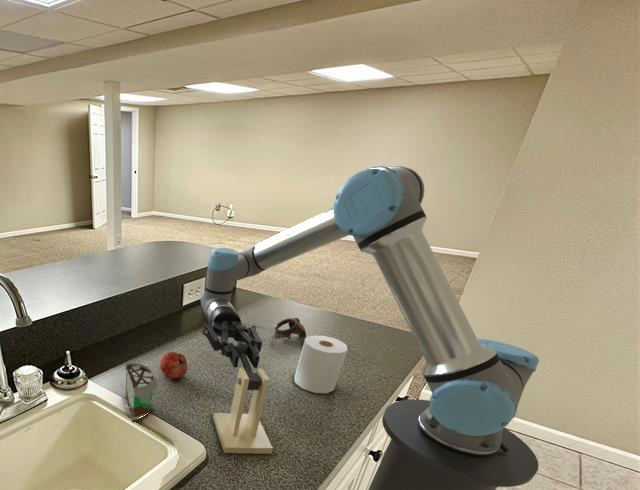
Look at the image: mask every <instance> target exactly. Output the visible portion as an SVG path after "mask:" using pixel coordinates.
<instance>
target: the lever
mask: <svg viewBox="0 0 640 490" xmlns="http://www.w3.org/2000/svg"><path fill="white" fill-rule="evenodd" d="M233 345H234V347H235V349H236V351H237V353H238V355H239V360H240V361H241V364H242V368H244V370H245V372H246V374H247V375H248V377H249V384H248V388H247V391H253V390H258V389H259V385H260V382H261V381H260V378H259V376H258V373H257V372H253V370H252V367H251V365H250V364H251V363H250V361H249V358H248V357H247V354H248V351H249V348H248V345H247V344H246V343H244V342H238V341H237V342H235V343H233Z"/></svg>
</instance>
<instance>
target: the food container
mask: <svg viewBox="0 0 640 490" xmlns="http://www.w3.org/2000/svg"><path fill="white" fill-rule="evenodd" d="M157 385H158V381H157V376H156V374H155V372H154V370H153V369H152V368H151V367H149V366H147V365H145V364H142V363H140V362H139V363H138V362H132V361H131V362H130V361H127V362H126V363H125V402H126V405H127V409H128V413H129V415H130V420H131V423H137V422H141V421H143V420H145V419H146V418H147V417H148V416H149V415H150V412H151V405H152V399H153V395H154V391H155V389H156V388H157ZM129 407H130V408H129ZM147 413H148V414H147ZM145 414H146V415H145ZM144 415H145V416H144ZM141 416H143V417H141ZM139 417H141V418H139ZM137 418H138V419H137Z"/></svg>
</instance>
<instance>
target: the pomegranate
mask: <svg viewBox="0 0 640 490" xmlns="http://www.w3.org/2000/svg"><path fill="white" fill-rule="evenodd" d="M159 367H160V370H161V372H162V373H163V376H164V377H166V378H167V379H171V380H175V379H178V378H183V377H184V376H185V375H186V374H187V373H188V368H189V366H188V363H187V358H186V357H185V355H184V354H183V353H178V352H176V351H169V352H166V353H164V355H162V357H161V359H160V364H159Z"/></svg>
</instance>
